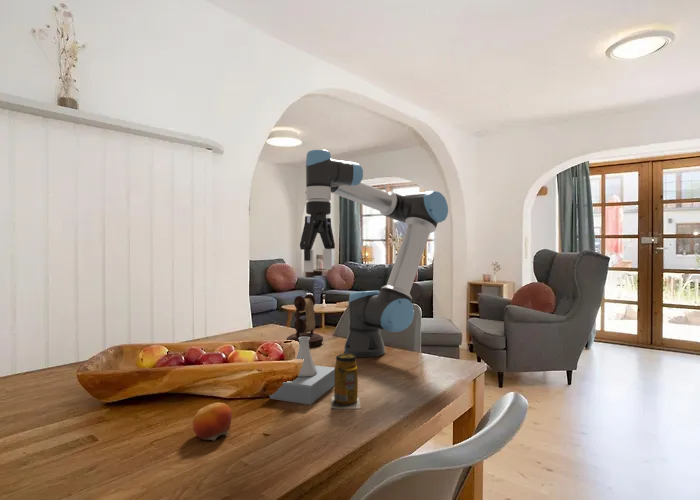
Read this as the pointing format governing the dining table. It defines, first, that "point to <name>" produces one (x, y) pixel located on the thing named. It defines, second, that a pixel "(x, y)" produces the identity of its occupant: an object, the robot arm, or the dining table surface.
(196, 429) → the fruit
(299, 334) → the brown sculpture on stand
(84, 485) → the dining table surface
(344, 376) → the condiment
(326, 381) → the slate box
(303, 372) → the flask
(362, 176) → the robot arm
